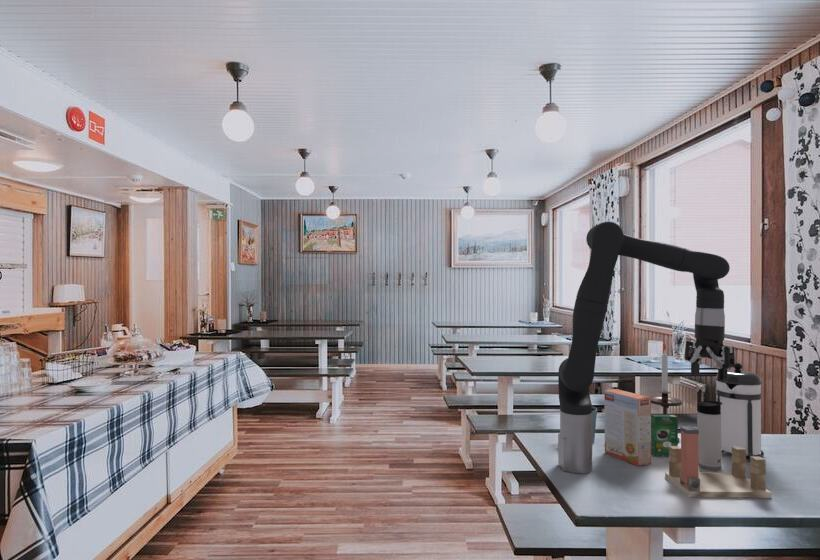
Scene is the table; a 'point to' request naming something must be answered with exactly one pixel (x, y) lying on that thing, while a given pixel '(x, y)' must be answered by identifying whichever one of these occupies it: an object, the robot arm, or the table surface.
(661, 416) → the coffee box
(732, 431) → the coffee press
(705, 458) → the travel mug
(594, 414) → the drinking glass
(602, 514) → the table surface
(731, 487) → the stool seat
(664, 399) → the candlestick
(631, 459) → the cracker box
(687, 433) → the folding leg
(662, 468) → the table surface
